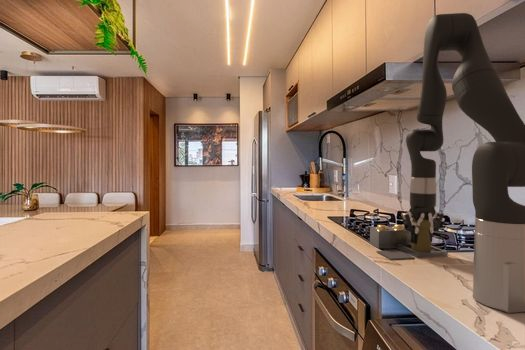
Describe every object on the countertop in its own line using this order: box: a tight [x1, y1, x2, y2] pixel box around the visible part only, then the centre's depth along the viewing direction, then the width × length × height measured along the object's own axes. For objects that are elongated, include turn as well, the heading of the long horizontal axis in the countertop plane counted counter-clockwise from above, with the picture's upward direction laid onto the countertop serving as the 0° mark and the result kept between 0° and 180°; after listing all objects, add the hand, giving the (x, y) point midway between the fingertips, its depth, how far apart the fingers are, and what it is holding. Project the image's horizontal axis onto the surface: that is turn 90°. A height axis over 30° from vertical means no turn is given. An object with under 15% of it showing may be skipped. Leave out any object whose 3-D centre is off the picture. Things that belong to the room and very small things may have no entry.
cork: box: [411, 220, 432, 252], centre depth 99 cm, size 6×6×11 cm
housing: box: [369, 226, 449, 259], centre depth 102 cm, size 17×17×6 cm
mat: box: [376, 249, 416, 261], centre depth 96 cm, size 8×8×1 cm
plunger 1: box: [376, 224, 388, 230], centre depth 107 cm, size 3×3×5 cm
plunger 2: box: [393, 224, 405, 230], centre depth 108 cm, size 3×3×5 cm
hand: (421, 243), depth 99 cm, fingers closed on cork, 4 cm apart
